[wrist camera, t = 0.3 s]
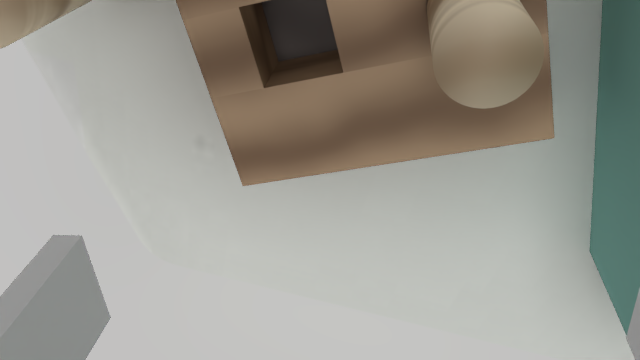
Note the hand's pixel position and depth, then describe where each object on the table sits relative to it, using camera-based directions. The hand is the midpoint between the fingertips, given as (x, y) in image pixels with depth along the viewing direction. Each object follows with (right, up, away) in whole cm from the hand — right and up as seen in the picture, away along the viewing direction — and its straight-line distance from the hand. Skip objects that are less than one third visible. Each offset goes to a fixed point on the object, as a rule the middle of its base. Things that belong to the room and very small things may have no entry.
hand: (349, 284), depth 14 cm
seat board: (+2, +14, +23) cm, 27 cm away
